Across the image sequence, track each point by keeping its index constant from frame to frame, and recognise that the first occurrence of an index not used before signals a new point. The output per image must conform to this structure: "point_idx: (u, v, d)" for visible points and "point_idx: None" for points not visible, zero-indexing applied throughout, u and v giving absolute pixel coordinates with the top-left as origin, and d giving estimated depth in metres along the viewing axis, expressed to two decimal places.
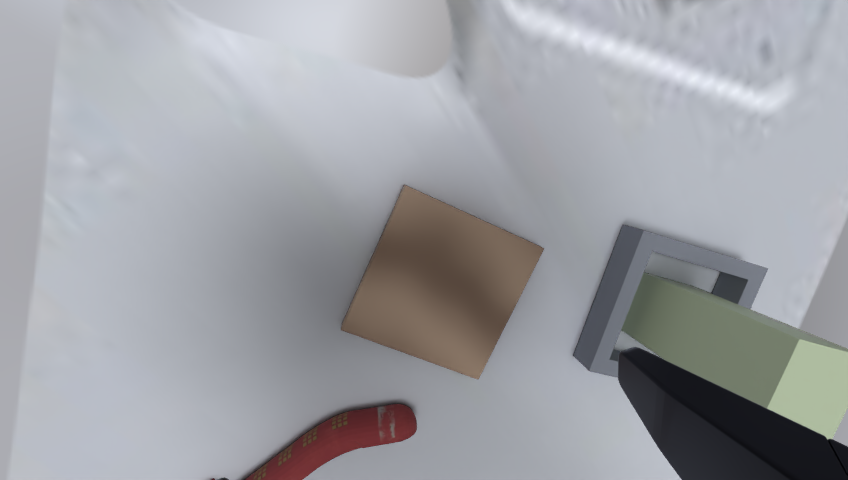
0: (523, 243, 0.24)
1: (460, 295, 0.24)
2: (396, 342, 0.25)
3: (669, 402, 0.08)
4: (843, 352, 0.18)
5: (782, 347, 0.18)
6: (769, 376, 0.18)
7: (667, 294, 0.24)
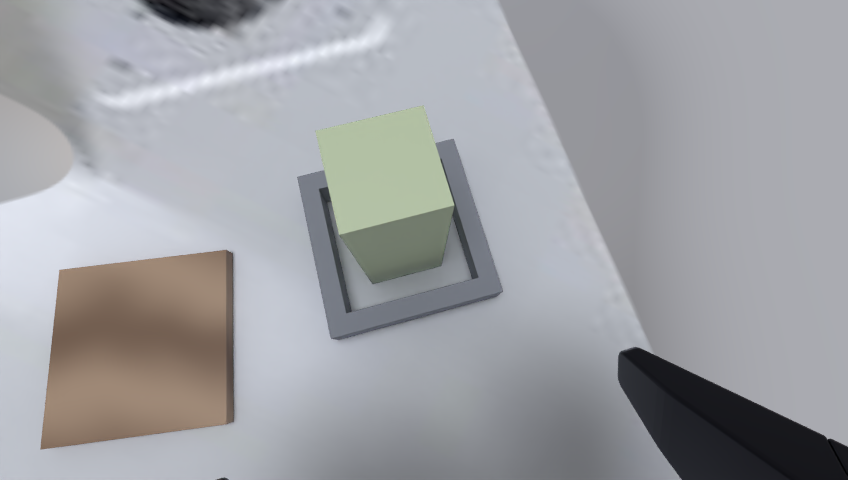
0: (201, 256, 0.23)
1: (160, 341, 0.22)
2: (109, 431, 0.21)
3: (669, 402, 0.08)
4: (381, 116, 0.15)
5: None
6: None
7: None
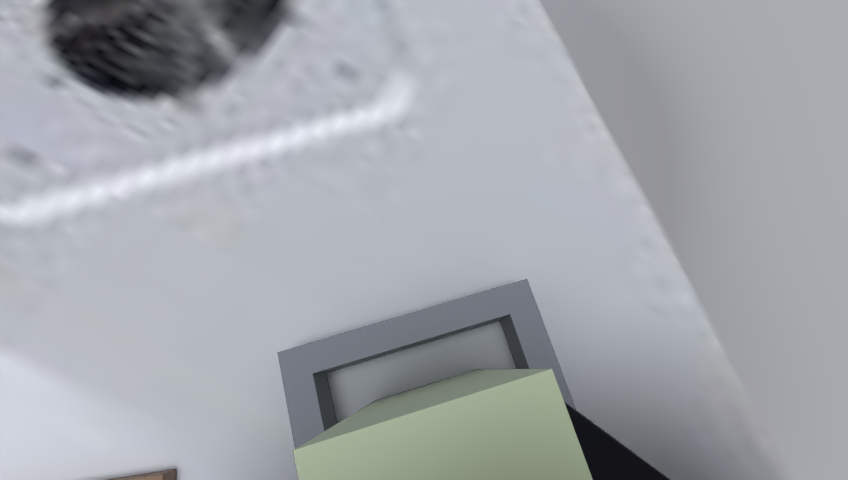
0: None
1: None
2: None
3: None
4: (454, 403, 0.06)
5: None
6: None
7: None
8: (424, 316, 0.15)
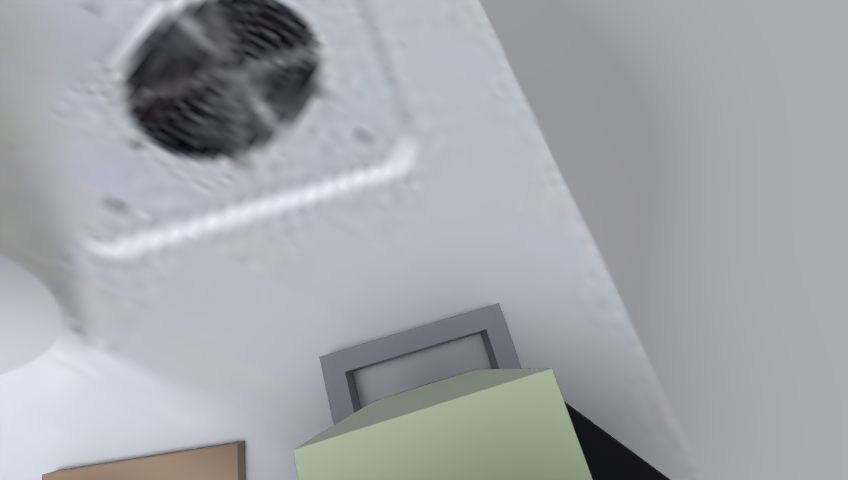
0: (208, 453, 0.20)
1: None
2: None
3: None
4: (454, 403, 0.06)
5: None
6: None
7: None
8: (424, 330, 0.20)
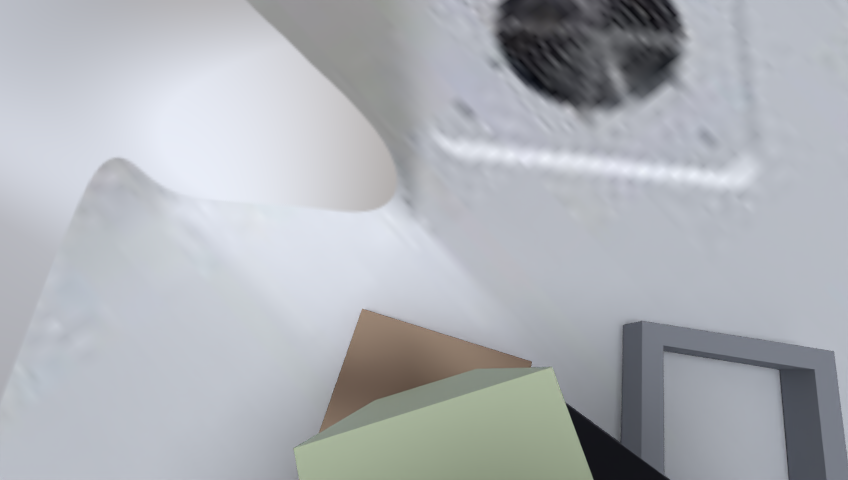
0: (504, 357, 0.21)
1: None
2: None
3: None
4: (454, 401, 0.06)
5: None
6: None
7: None
8: (750, 343, 0.20)
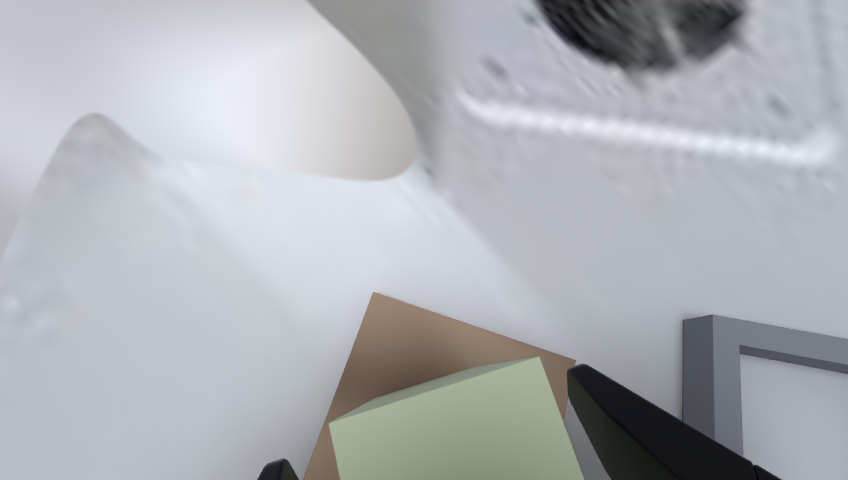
0: (543, 354, 0.17)
1: None
2: None
3: (608, 422, 0.08)
4: (460, 385, 0.08)
5: None
6: None
7: None
8: (845, 345, 0.16)
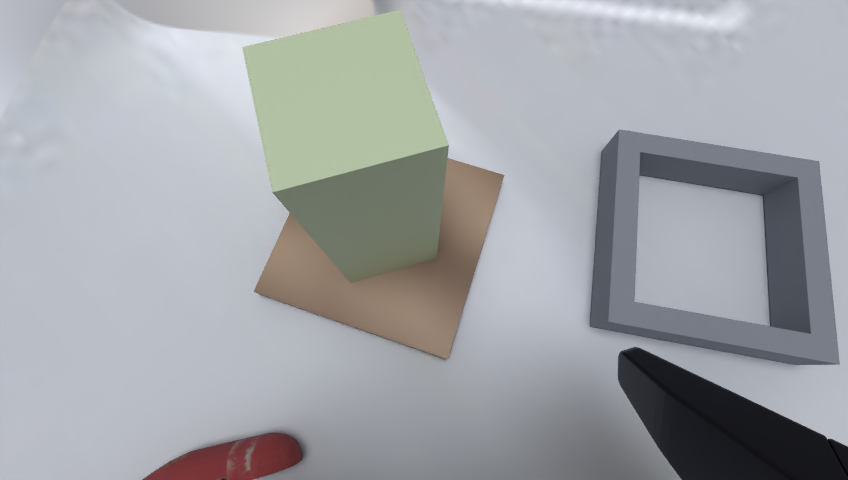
0: (476, 170, 0.20)
1: None
2: (325, 306, 0.18)
3: (669, 402, 0.08)
4: (340, 26, 0.10)
5: None
6: None
7: None
8: (731, 152, 0.19)
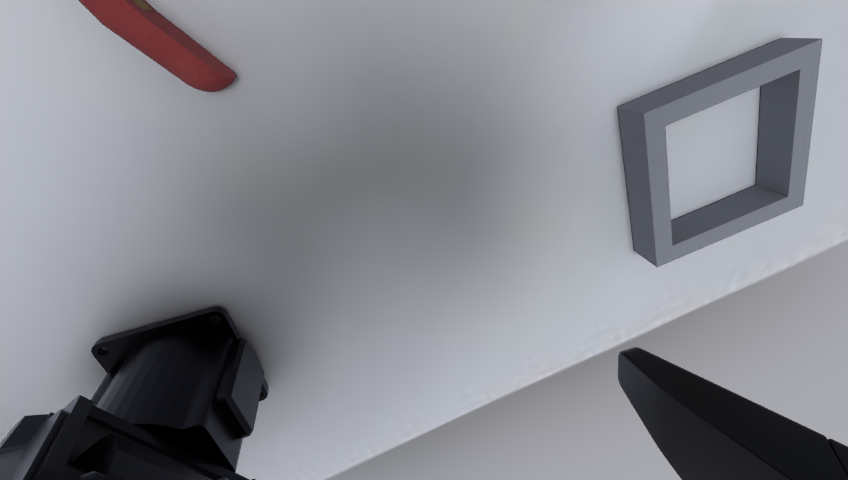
0: None
1: None
2: None
3: (669, 402, 0.08)
4: None
5: None
6: None
7: None
8: (805, 143, 0.22)
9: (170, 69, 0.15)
